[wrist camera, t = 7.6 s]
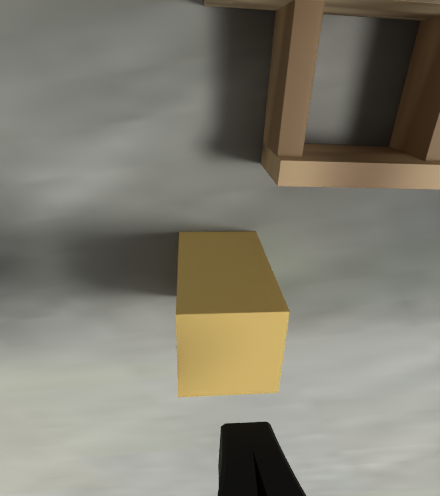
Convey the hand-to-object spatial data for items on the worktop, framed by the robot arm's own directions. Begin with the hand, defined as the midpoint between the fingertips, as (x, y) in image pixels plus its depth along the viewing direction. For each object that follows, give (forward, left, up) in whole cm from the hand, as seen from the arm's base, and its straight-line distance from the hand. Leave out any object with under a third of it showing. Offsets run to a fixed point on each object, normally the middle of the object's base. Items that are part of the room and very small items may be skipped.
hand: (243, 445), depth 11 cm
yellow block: (0, 0, -10) cm, 11 cm away
